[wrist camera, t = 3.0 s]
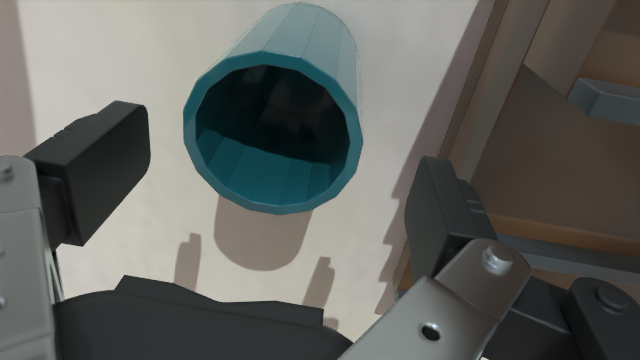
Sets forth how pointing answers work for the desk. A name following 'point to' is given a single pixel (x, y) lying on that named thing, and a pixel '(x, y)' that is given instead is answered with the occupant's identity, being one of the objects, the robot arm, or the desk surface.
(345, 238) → the desk surface
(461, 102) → the shelf rack
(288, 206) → the cup
